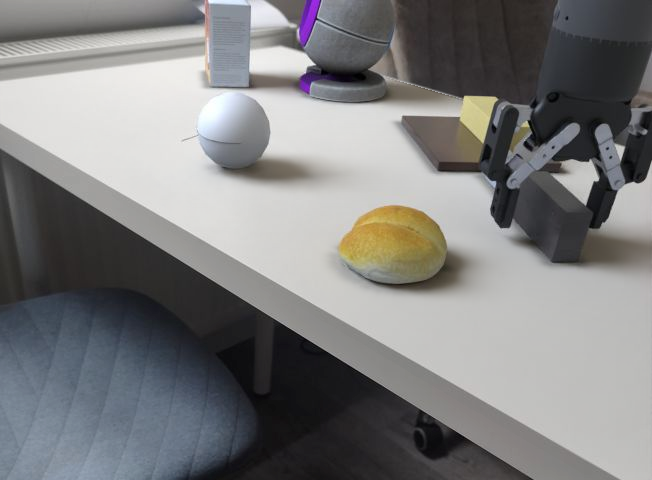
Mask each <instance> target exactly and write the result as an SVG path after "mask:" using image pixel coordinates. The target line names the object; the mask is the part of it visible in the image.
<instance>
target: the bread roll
mask: <svg viewBox="0 0 652 480" xmlns="http://www.w3.org/2000/svg"><path fill="white" fill-rule="evenodd" d="M447 250H448V244H447V239H446V237H445V235H444V232H443V231H442V229H441V227H440V224H438V222H436V221H435V220H434V219H433V218H432V217H430V216H429V215H428V214H426V213H425V212H424V211H422V210H419V209H417V208H413V207H409V206H404V205H399V204H392V205H391V204H390V205H384V206H378V207H377V208H374V209H372V210H370V211H368V212H366V213H363V214H362V215H361V216H359V218H358V219H357V220H356V221H355V222H354V224H353V226H352V228H351V230H350V231H348V232H347V233H346V234H344V236H343V238H342V239H341V241H340V242H339V245H338V256H339V258H340V261H342V262H343V263H344V264H346V266H347V267H348V268H350V270H352V271H354V272H355V273H357V274H359V275H360V276H362V277H363V278H366V279H367V280H370V281H373V282H377V283H383V284H389V285H390V284H391V285H400V284H402V285H403V284H411V283H418V282H422V281H427V280H429V279H430V278H432V277H434V276H435V275H436V274H437V273H439V271H440V270H441V269H442V268H443V266H444V263H445V262H446V258H447V254H448V251H447Z"/></svg>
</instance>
